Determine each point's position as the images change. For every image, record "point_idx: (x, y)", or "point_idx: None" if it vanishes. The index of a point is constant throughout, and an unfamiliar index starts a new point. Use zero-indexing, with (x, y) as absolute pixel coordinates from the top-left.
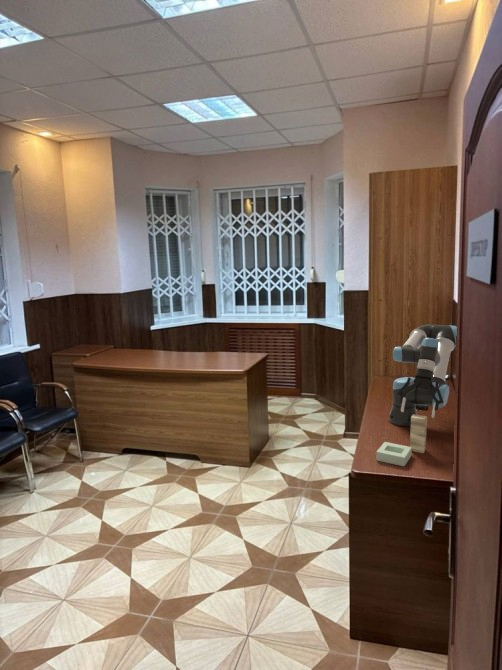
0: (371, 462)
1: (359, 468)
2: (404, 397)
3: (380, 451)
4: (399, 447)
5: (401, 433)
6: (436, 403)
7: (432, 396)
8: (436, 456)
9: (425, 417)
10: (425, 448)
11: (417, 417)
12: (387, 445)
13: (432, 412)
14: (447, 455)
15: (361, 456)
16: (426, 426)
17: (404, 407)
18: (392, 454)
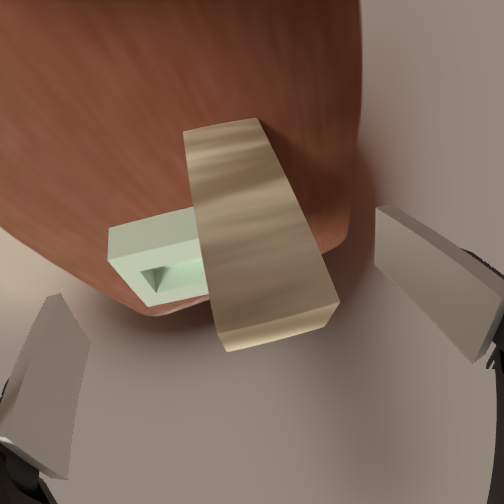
0: None
1: (147, 312)
2: (64, 478)
3: (155, 301)
4: (186, 258)
5: (25, 12)
6: (496, 335)
7: (498, 440)
8: (315, 149)
9: (327, 315)
10: (259, 126)
11: (270, 338)
12: (140, 271)
13: (402, 286)
14: (357, 117)
15: (101, 287)
16: (308, 229)
17: None
18: (196, 294)
